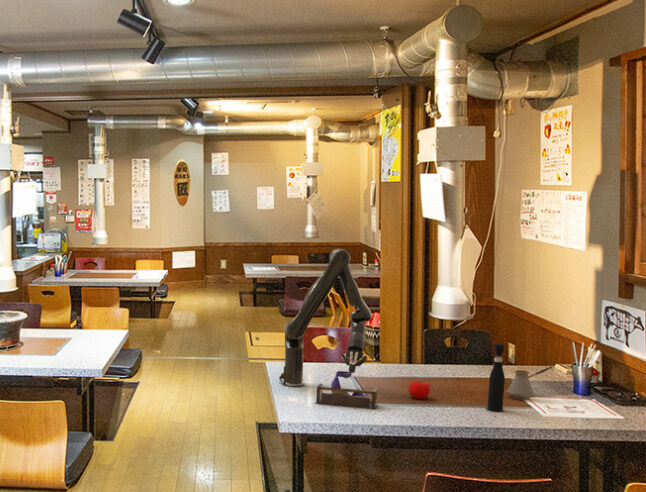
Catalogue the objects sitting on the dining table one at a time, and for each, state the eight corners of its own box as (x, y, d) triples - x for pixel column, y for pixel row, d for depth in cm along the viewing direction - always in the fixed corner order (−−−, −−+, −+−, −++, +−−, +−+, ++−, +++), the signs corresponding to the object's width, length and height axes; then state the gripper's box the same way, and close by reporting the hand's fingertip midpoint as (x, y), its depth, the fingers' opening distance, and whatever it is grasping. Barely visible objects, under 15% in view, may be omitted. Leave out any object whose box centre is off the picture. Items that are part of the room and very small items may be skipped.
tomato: (404, 397, 361) (405, 380, 360) (417, 394, 367) (418, 377, 366) (421, 401, 354) (422, 384, 353) (434, 398, 360) (435, 381, 359)
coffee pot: (515, 401, 354) (517, 370, 351) (502, 395, 365) (504, 365, 362) (557, 400, 356) (560, 369, 354) (543, 393, 367) (545, 363, 365)
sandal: (374, 404, 350) (376, 373, 347) (331, 404, 350) (332, 373, 347) (370, 399, 358) (371, 369, 355) (328, 399, 358) (329, 369, 355)
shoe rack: (316, 403, 352) (316, 386, 351) (319, 399, 358) (319, 383, 357) (374, 409, 342) (375, 392, 341) (376, 405, 349) (377, 388, 347)
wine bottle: (484, 407, 343) (488, 343, 338) (498, 407, 344) (502, 343, 339) (491, 411, 337) (496, 346, 332) (505, 411, 338) (510, 345, 333)
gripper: (342, 337, 371) (337, 366, 362) (369, 339, 366) (365, 369, 357) (343, 345, 377) (338, 375, 368) (370, 348, 372) (366, 377, 363)
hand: (351, 372), depth 362 cm, fingers closed
